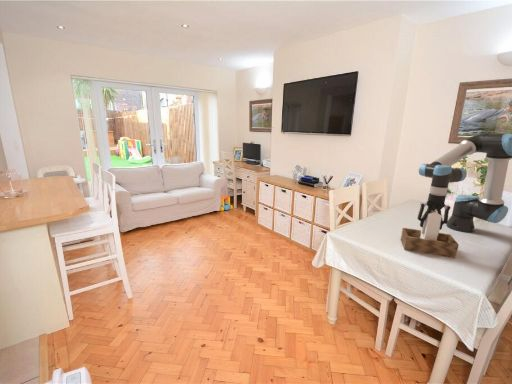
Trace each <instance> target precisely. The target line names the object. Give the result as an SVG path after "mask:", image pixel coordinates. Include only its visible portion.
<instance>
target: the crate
mask: <svg viewBox="0 0 512 384" xmlns="http://www.w3.org/2000/svg"><path fill="white" fill-rule="evenodd" d="M420 236H421V229H414V228H408V227H402V229H401V236H400V242H401V245H402V247H403V250H404V251H409V252H416V253H421V254H427V255H433V256H439V257H445V258H452V259H456V258H457V253H458V249H459V246H460V245H459V243H458V242H457V241H456V240H455V238H454V237H453V236H452V235H451V234H450V233H443V232H439V234H438V236H437V241H435V240H429V239H422V238H420Z"/></svg>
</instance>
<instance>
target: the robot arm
mask: <svg viewBox="0 0 512 384" xmlns="http://www.w3.org/2000/svg"><path fill="white" fill-rule="evenodd" d="M475 153H484V154H485V157H486V159H488V163H487V167H486V169H487V170H486V176H485V181H484V187H483V192H482V196H481V197H479V196H476V195H469V194H461V195H460V194H459V195H457V196H456V197H455V200H454V203H453V209H452V212H451V216H450V217H449V212H450V210H451V206H450V205H449V204H448V205H447V204H446V203H445V202H446V199H447V197H446V196H447V194H448V188H449V183H458V182H463V181H465V180H466V178H467V172H466V170H465V169H463V168H461V167H452V166H453V165H455V164H457V163H458V162H459V161H461V160H463V159H464V158H466V157H467V156H471V155H473V154H475ZM510 160H512V133H500V132H499V133H496V132H495V133H494V132H493V133H491V132H484V133H483V132H482V133H478V134H475V135H472V136H470V137H467V138H465V139H463V140H462V141H461V142H459V143H458V145H457V146H456V147H454V148H453V149H451V150H449V151H448V152H446V153H445V154H443V155H442V156H440V157H438V158H437V159H435V160H433V161H432V162H431V163H422V164H421V165H420V166H419V168H418V174H419V175H420V176H421V177H425V178H428V179H429V178H431V183H430V188H429V193H428V197H427V201H426V202H420V208H419V211H418V215H417V220H418V221H420V224H419V227H420V228H421V229H420V230H421V233H423V232H424V228H425V219H426V218H427V216H428V213H430V212H431V211H434V210H435V209H437V213H439V214H440V215H441V216H442V218H441V222H440V227H439V232H438V234H439V233H440V230H442V229H443V225H446V227H447V228H450V229H451V230H453V231H458V232H463V233H473V232H475V222H474V219H475V218H476V219H479V220H483V221H486V222H488V223H489V222H490V223H493V224H498V223H501V221H503V220H504V219H505V218H506V216H507V214H508V211H509V208H508V206H506V205H505V200H503V199H502V197H503V194H504V193H503V192H504V188H505V183H506V177H507V172H508V168H509V167H508V166H509V162H510ZM425 207H427V209H426V210H425ZM443 208H444V214H443V215H442V209H443ZM424 210H425V211H426V212H425V211H424Z"/></svg>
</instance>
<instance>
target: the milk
mask: <svg viewBox="0 0 512 384" xmlns="http://www.w3.org/2000/svg"><path fill="white" fill-rule="evenodd" d="M426 211H427V210H425V211H424V213H425V212H426ZM441 218H442V219H443V215H442V216H441V215H440V214H439V213H437V209H435V210H434V211H431V212H430V213H428V216H427V218H426V219H425V228H424V232H423V233H421V236H420V238H422V239H429V240H435V241H437V236H438V232H439V233H440V229H439V227H440V222H441Z"/></svg>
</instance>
